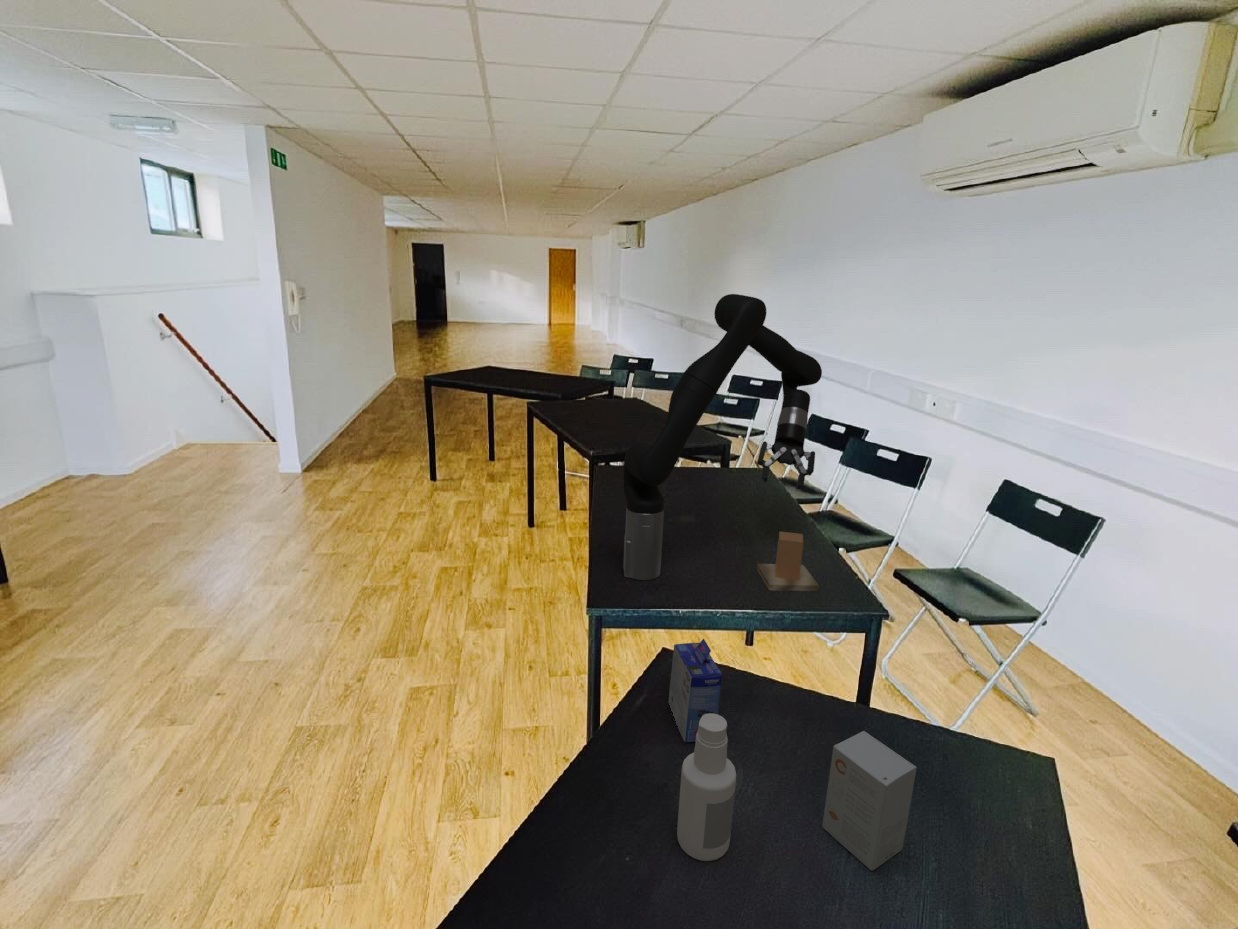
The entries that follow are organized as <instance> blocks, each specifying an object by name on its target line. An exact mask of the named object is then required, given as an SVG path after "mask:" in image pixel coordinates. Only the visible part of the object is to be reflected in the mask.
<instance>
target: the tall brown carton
mask: <svg viewBox="0 0 1238 929" xmlns="http://www.w3.org/2000/svg"><path fill="white" fill-rule="evenodd" d="M803 536H804V535H803V533H796V532H795V533H794V532H790V531H788V532H786V531H779V532H778V540H777V550H776V557H775V558H776V560H775V564H776V566H775V577H776V578H784V579H792V580H799V576H800V567H801V564H802V557H803V550H804V537H803Z"/></svg>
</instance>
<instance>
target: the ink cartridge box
mask: <svg viewBox="0 0 1238 929" xmlns="http://www.w3.org/2000/svg"><path fill="white" fill-rule="evenodd" d="M672 652H673V655H672V665H671V672H670V673H671V674H670V681H669V682H670V683H669V690H668V691H669V692H668V702H667V703H669V705H670V708H671V711H672V712H673V715H672V717H673V716H674V718H675V720H674V722H675V721H676V722H675V724H676V727H677V726H678V727H677V729H678V731H679V733H680V736H681V738H682V740H683V742H684V743H694V742H695V743H696V734H697V732H698V729H699V721H700V719H701V717H702V716H703V715H705V714H709V713H712V714H717V715H719V707H720V697H721V688H722V687H721V686H722V679H723V673H722V671H721V670H720V668H719V667H718V665H717V663H716V662H715V660H714V659H713V658H712V656H711V654H710V653H711V652H712V650H711V648H710V647H709V645H708V643H707V642H706V640H705V639H704V638H702V639H701V641H700V642H687V643H676V644H674V645H673V651H672ZM671 711H670V712H671ZM674 718H673V719H674Z"/></svg>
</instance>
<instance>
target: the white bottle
mask: <svg viewBox="0 0 1238 929" xmlns="http://www.w3.org/2000/svg"><path fill="white" fill-rule="evenodd" d="M727 729H728V723H727V720H726V719H725V718H724V717H723V716H721V715H720V714H718V715H717V714H712V713H709V714H705V715H703V716H702V717H701V719H700V721H699V729H698V732H697V734H696V742H695V746H694V750H693V752H692V753H689V754H688V755H687V756H686V758H684V760H683V761H682V762H683V763H682V765H681V772H680V789H679V802H678V814H677V815H678V816H677V827H676V828H677V829H676V835H677V838H676V839H677V841H678V844H679V845H680V848H681V850H683V851H684V852H685V854H687V856H690V857H691V858H692V859H695V860H699V861H701V862H712V861H716V860H719V859H721V857H723V856H725V854H726V852H727V851H728V849H729V848H730V843H731V833H732V824H733V823H732V822H733V814H734V813H733V812H734V804H735V795H736V794H735V793H736V792H735V791H736V784H737V773H736V767H735V765H734V764H733V762H732V761H731V760H730V759H729V758H728V753H727V750H728V742H729V741H728V740H729V739H728V735H727Z"/></svg>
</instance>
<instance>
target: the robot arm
mask: <svg viewBox="0 0 1238 929" xmlns="http://www.w3.org/2000/svg"><path fill="white" fill-rule="evenodd" d="M766 317H767V307H766V304H765V302H764V301H763V300H762V299H760V298H757V297H754V296H749V295H744V294H738V293H729V294H726V295H724V296H722V297H721V298H720V299H719V300H718V301H717V303H716V305H715V308H714V320H715V322H716V325H717V326H718V327H719V328H720V329H721V330H722V331H725V332H726V333H725V334H724V335H723V337H722V339H721V340H720V341H719V342H718V343H717V344H716V345H715V346H714V347H713V348H712V349H710V350H709V351H707V352H706V353H705V354H703V355H702V356H700V357H698V358H697V359H696V360H694V361H693V362H692V363H691V364H689V365H688V367H687V368H686V369H685V370H684V372H683V373H682V375H681V377H680V378H679V379H678V382H676V383H677V384H676V385H675V387H674V388H673V389H672V392H671V396H670V400H669V405H668V412H667V415H666V416H667V417H666V421H665V424H664V425H663V428H662V429H661V431H660V433H659V435H658V436H657V437H656V439H655V440H654V442H653V443H650V442H648V441H637V442H635V443H633V444H632V445H631V446H629V448H627V451H626V453H625V456H624V460H623V495H624V497H625V502H626V503H625V504H626V508H625V532H624V534H623V535H624V540H623V542H624V543H623V561H622V562H623V565H622V566H623V567H622V568H623V575H624V578H631V579H633V580H637V581H638V580H639V581H648V580H649V581H651V580H654V579H657V578H658V577H659V576H660V575H661V569H662V568H661V567H662V548H663V531H664V530H663V529H664V515H665V514H664V513H665V511H664V510H665V499H664V495H662V494H663V493H662V492H661V491H660V488H659V485H661V484H663V483H664V482H665V481H667V479H668V478H669V477H670V475H671V473H673V470H674V468H675V466H676V464H677V462H678V460H679V458H680V456H681V454H682V452H683V450H684V447H685V446H686V443H687V442H688V440H689V439H690V437H691V435H692V433H693V431H694V430H695V429H696V427H697V425H698V423H699V422H700V420H701V418H702V416H703V415H704V414H705V412H706V411H707V409H708V407H709V406H710V404H711V403H712V401H713V400H714V399H715V396H716V395H717V393H718V391H719V390H720V388H721V386H722V385H723V383H724V381H725V380H726V379H727V377H728V375H729V374H730V372H731V371H732V369H733V367H735V365H736V363H737V362H738V360H739V358H741V356H742V355H743V353H744V352H745V351H746V350H747V348H748V347H750V348H752V349H753V350H755V351H756V352H757V353H758V354H759V355H760V356H761V357H763V358H764V359H765V360H766V361H767V362H768V363H769V364H771V365H772V367H774V368H775V369H776V370H777V371H779V372H780V373H781V374H780V376H781V383H782V394H783V395H782V397H783V398H782V399H783V400H782V404H781V409H780V412H779V416H778V421H777V424H776V425H777V427H776V432H775V437H774V443H773V444H770V443H768V442H767V441H765V440H764V441H763V442H762V444H761V446H760V450H759V454H758V458H757V463H756V464H757V465H758V466H760V467H762V474H761V480H763V483H767V481H768V477H769V474H770V468H771V466H772V465H775V463H776V462H777V463H778V464H786V465H788V466H794V469H795V470H796V471H797V472H798V474H799V475H798V477H797V482H796V490H800V489H801V488H803V486H804V483H805V479H806V476H812V474H813V473H814V472H815V463H816V462H815V460H816V459H815V458H816V452H815V451H814V450H812V451H810V452H809V451H806V450H805V449H804V448H805V447H804V444H805V440H806V435H807V429H808V428H807V427H808V422H809V421H808V418H809V417H808V415H809V411H810V410H809V409H810V405H811V404H810V402H811V395H810V394H809V392H807V391H806V390H803V389H800V388H799V387H806V386H807V387H808V386H812V385H815V384H817V383H818V382H819V381H820V380H821V378H822V376H823V375H822V374H823V371H822V367H821V364H820V363H819V361H818V360H817V359H815V358H814V357H812V356H811V355H809V354H807V353H806V352H803V351H800V350H798V349H796V348H795V347H794V346H793V345H792V344H791V343H790V342H789V340H787V339H786V338H784V337H783V336H782V335H780V334H778V333H777V332H776V331H774V330H771V329H770V328H768V327H767V326H765V325H764V324H765V321H766ZM770 450H771V452H772V454H773V455H772V456H771V457H770V458H769V459H768V460H765V459H764V457H765V453H768V452H769V451H770ZM803 457H805V461H807V466H806V468H807V469H806V468H805V466H804V463H803V461H802V458H803Z"/></svg>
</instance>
